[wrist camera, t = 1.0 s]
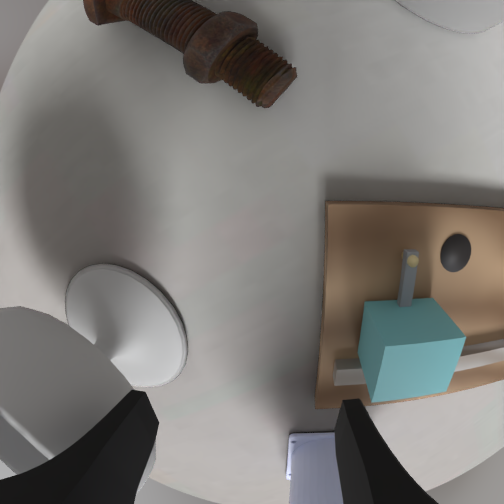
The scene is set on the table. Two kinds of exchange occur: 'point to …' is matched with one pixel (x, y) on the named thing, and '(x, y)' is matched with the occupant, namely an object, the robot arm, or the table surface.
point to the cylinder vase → (459, 13)
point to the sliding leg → (408, 342)
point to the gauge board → (426, 286)
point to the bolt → (206, 43)
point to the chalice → (82, 362)
